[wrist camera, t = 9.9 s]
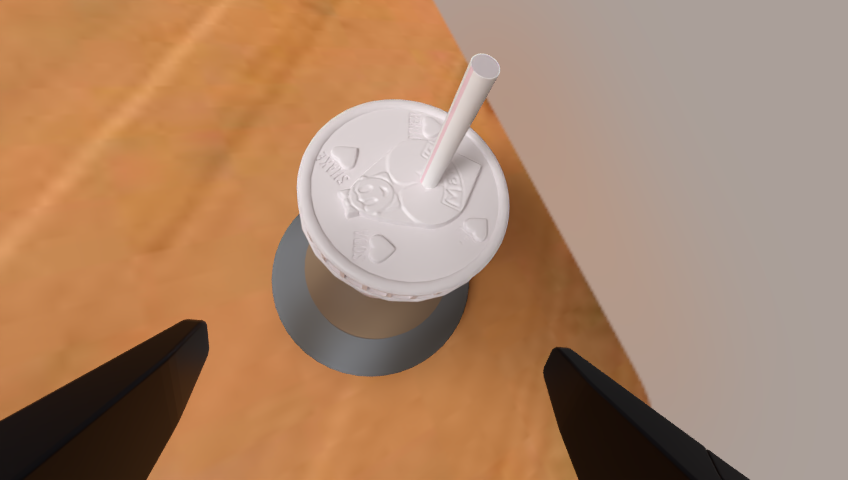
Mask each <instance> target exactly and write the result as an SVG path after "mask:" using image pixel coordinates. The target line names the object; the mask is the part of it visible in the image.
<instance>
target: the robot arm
mask: <svg viewBox="0 0 848 480" xmlns="http://www.w3.org/2000/svg"><path fill="white" fill-rule="evenodd" d="M208 352H209V341H208V331H207V324H206V322H205V321H203V320H192V319H186V320H183V321H181V322H179V323H177V324H175V325H173V326H172V327H170V328H168V329H166V330H164V331H163V332H161V333H159V334H157V335H155V336H154V337H152V338H150V339H148V340H146V341H144V342H143V343H141V344H139V345H137V346H135V347H134V348H132V349H130V350H128V351H126V352H124V353H123V354H121V355H119V356H117V357H115V358H114V359H112V360H110V361H108V362H106V363H104V364H103V365H101V366H99V367H97V368H95V369H94V370H92V371H90V372H88V373H86V374H85V375H83V376H81V377H79V378H77V379H75V380H74V381H72V382H70V383H68V384H66V385H65V386H63V387H61V388H59V389H57V390H55V391H54V392H52V393H50V394H48V395H46V396H45V397H43V398H41V399H39V400H37V401H36V402H34V403H32V404H30V405H28V406H26V407H25V408H23V409H21V410H19V411H17V412H16V413H14V414H12V415H10V416H8V417H6V418H5V419H3V420H1V421H0V480H146V479H147V478H148V476H149V474H150V472H151V471H152V469H153V467H154V465H155V464H156V462H157V460H158V458H159V456H160V455H161V453H162V451H163V449H164V448H165V446H166V444H167V442H168V440H169V439H170V437H171V435H172V433H173V432H174V430H175V428H176V426H177V424H178V422H179V420H180V418H181V416H182V414H183V411H184V409H185V407H186V405H187V402H188V400H189V398H190V395H191V393H192V391H193V388H194V386H195V384H196V381H197V379H198V377H199V375H200V372H201V370H202V368H203V365H204V363H205V361H206V358H207V356H208ZM543 374H544V379H545V383H546V386H547V389H548V393H549V396H550V400H551V403H552V407H553V410H554V414H555V417H556V421H557V424H558V427H559V430H560V433H561V436H562V438H563V441H564V444H565V446H566V449H567V451H568V454H569V456H570V459H571V462H572V464H573V467H574V469H575V472H576V474H577V477H578V480H749V479H748V478H747V477H745V476H744V475H743V474H741V473H740V472H738V471H737V470H736V469H734V468H733V467H731V466H730V465H729V464H727V463H726V462H724V461H723V460H722V459H720V458H719V457H718V456H716V455H715V454H714V453H712V452H711V451H710V450H706V448H705V447H704V446H703V445H701V444H700V443H699V442H697V441H696V440H694V439H693V438H691V437H690V436H689V435H688V434H686V433H685V432H683V431H682V430H681V429H679V428H678V427H676V426H675V425H674V424H673V423H671V422H670V421H668V420H667V419H666V418H664V417H663V416H662V415H660V414H659V413H657V412H656V411H655V410H653V409H652V408H651V407H649V406H648V405H647V404H645V403H644V402H642V401H641V400H640V399H638V398H637V397H636V396H634V395H633V394H631V393H630V392H629V391H627V390H626V389H625V388H623V387H622V386H621V385H619V384H618V383H616V382H615V381H614V380H612V379H611V378H610V377H608V376H607V375H606V374H604V373H603V372H601V371H600V370H599V369H597V368H596V367H595V366H593V365H592V364H591V363H589V362H588V361H586V360H585V359H584V358H582V357H581V356H580V355H578V354H577V353H575V352H574V351H573V350H571V349H570V348H565V347H555V348H554V349H553V350H552V352H551V354H550V356H549V358H548V360H547V362H546V364H545V366H544V370H543Z"/></svg>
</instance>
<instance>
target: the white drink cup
mask: <svg viewBox="0 0 848 480" xmlns="http://www.w3.org/2000/svg"><path fill="white" fill-rule="evenodd" d="M499 73H500V66H499V64H498V62H497V61H496V60H495V59H494V58H493V57H491V56H489V55H486V54H476V55H475V56H473V57H472V59H471V61H470V63H469V65H468V68H467V70H466V72H465V75H464V77H463V79H462V82H461V84H460V86H459V88H458V91H457V93H456V95H455V98H454V100H453V102H452V105H451V107H450V109H449V112H445V111H443V110H441V109H439V108H436V107H433V106H431V105H427V104H424V103H420V102H415V101H409V100H396V99H391V100H378V101H372V102H368V103H364V104H361V105H357V106H355V107H352V108H350V109H348V110H346V111H344V112H342V113H340V114H339V115H337V116H336V117H334V118H333V119H331V120H330V121H329V122H328V123H327V124H325V125H324V126H323V127H322V128H321V129H320V130H319V131H318V132H317V134H316V135H315V136H314V138H313V139H312V140H311V142H310V144H309V145H308V147H307V149H306V151H305V153H304V155H303V158H302V161H301V164H300V167H299V172H298V179H297V199H298V208H299V213H300V219H301V225H302V230H303V232H304V234H305V236H306V238H307V240H308V242H309V244H310V246H311V248H312V250H313V252H314V254H315V255H316V256H317V258H318V259H319V260H320V261H321V262H322V263H323V264H324V265H325V266H326V267H327V268H328V269H329V271H330V272H331V273H332V274H333V275H334V276H335V277H337V278H338V279H340V280H341V281H343V282H345V283H346V284H348V285H349V286H351V287H353V288H354V289H356V290H357V291H359V292H360V293H362V294H363V295H366V296H368V297H372V298H380V299H384V300H387V301H403V302H420V301H424V300H428V299H432V298H436V297H440V296H444V295H446V294H448V293H450V292H452V291H453V290H455V289H457V288H459V287H460V286H462V285H464V284H466V283H467V282H468V281H469V280H470V279H471V278H472V277H473V276H475V275H476V274H477V273H479V272H480V271H481V270H482V269H483V268H484V267H485V266H486V265H487V264H488V263H489V262H490V260H491V259H492V258H493V256H494V255H495V253H496V252H497V250H498V249H499V247H500V245H501V243H502V240H503V238H504V235H505V232H506V229H507V225H508V219H509V194H508V188H507V184H506V180H505V177H504V174H503V171H502V169H501V167H500V164H499V162H498V161H497V159H496V157H495V155H494V154H493V152H492V151H491V149H490V148H489V147H488V145H487V144H486V143H485V141H484V140H483V139H482V138H481V137H480V136H479V135H478V134H477V133H476V132H475V131H474V130H473V129H472V128H470V125H471V124H472V122H473V120H474V118H475V117H476V115H477V113H478V111H479V109H480V108H481V106H482V104H483V102H484V100H485V99H486V97H487V95H488V93H489V91H490V90H491V88H492V86H493V84H494V82H495V81H496V79H497V77H498V75H499Z"/></svg>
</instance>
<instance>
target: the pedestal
mask: <svg viewBox="0 0 848 480" xmlns="http://www.w3.org/2000/svg"><path fill="white" fill-rule="evenodd" d="M468 289H469V281H468V282H467V283H466V284H464V285H462V286H460V287H459V288H457V289H455V290H453V291H452V292H450V293H448V294H446V295H444V296H440V297H436V298H432V299H428V300H424V301H420V302H403V301H387V300H384V299H380V298H372V297H368V296H366V295H363V294H362V293H360V292H359V291H357V290H356V289H354V288H353V287H351V286H349V285H348V284H346V283H345V282H343V281H341V280H340V279H338V278H337V277H335V276H334V275H333V274H332V273H331V272H330V271H329V269H328V268H327V267H326V266H325V265H324V264H323V263H322V262H321V261H320V260H319V259H318V258H317V256H316V255H315V254H314V252H313V250H312V248H311V246H310V244H309V242H308V240H307V238H306V236H305V234H304V232H303V230H302V225H301V219H300V214H299V215H298V216H297V217H296V218H295V219H294V220H293V222H292V223H291V224H290V226H289V227H288V228H287V230H286V232H285V234H284V235H283V237H282V239H281V241H280V243H279V246H278V249H277V252H276V255H275V259H274V264H273V271H272V290H273V297H274V302H275V306H276V309H277V312H278V314H279V317H280V320H281V322H282V323H283V325H284V327H285V329H286V331H287V332H288V334H289V335H290V336H291V338H292V339H293V340H294V342H295V343H296V344H297V345H298V346H299V347H300V348H301V349H302V350H303V351H304V352H305V353H306V354H308V355H309V356H311V357H312V358H313V359H315V360H316V361H317V362H319V363H321V364H323V365H325V366H327V367H329V368H331V369H334V370H337V371H340V372H342V373H346V374H352V375H357V376H384V375H389V374H394V373H398V372H401V371H404V370H407V369H409V368H412V367H414V366H416V365H418V364H419V363H421V362H423V361H425V360H426V359H427V358H429V357H430V356H432V355H433V354H434V353H435V352H436V351H437V350H439V349H440V348H441V347H442V346H443V345H444V344H445V342H446V341H447V340H448V339H449V337H450V336H451V335H452V333H453V332H454V330H455V328H456V327H457V325H458V323H459V321H460V319H461V317H462V314H463V312H464V308H465V305H466V301H467V296H468Z"/></svg>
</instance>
